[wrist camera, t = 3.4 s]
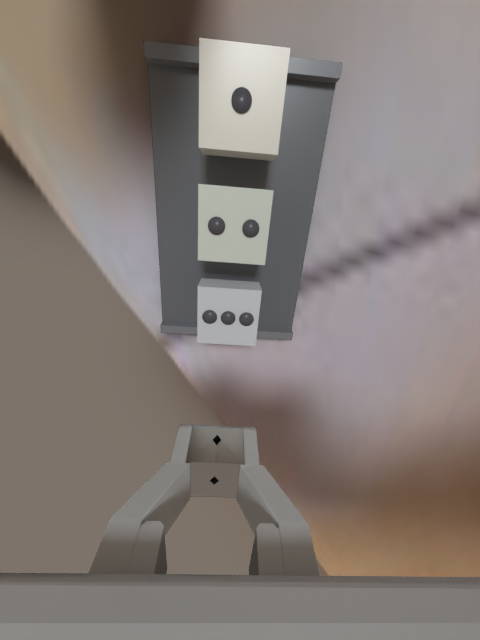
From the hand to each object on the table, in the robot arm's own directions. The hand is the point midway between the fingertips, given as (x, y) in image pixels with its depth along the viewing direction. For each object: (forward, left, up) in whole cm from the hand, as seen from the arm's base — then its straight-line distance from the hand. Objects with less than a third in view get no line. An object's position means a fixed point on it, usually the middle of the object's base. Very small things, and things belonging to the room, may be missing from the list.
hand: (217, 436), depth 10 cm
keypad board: (0, -7, -17) cm, 18 cm away
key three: (0, 0, -14) cm, 14 cm away
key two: (0, -7, -14) cm, 16 cm away
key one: (0, -14, -14) cm, 20 cm away
